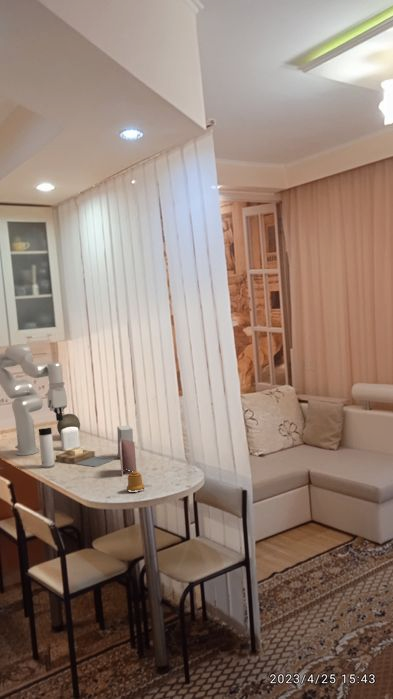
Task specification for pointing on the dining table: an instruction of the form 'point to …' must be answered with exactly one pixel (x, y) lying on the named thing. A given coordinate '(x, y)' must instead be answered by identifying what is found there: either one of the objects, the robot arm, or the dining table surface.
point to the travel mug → (46, 448)
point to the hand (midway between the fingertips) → (59, 420)
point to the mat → (95, 461)
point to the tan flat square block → (75, 457)
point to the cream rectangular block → (73, 451)
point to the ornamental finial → (135, 481)
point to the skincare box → (124, 435)
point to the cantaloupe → (68, 422)
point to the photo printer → (70, 438)
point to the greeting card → (127, 455)
